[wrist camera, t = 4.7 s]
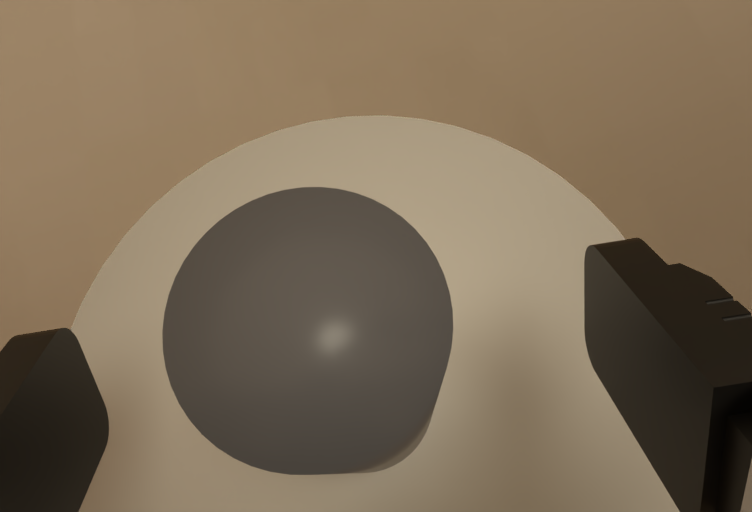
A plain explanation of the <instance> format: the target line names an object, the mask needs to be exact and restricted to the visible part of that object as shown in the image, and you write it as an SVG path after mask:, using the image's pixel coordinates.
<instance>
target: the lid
mask: <svg viewBox="0 0 752 512" xmlns="http://www.w3.org/2000/svg"><path fill="white" fill-rule="evenodd" d="M620 240H625V238H624V237H623V236H622V234H621V233H620V232H619V230H618V229H617V228H616V227H615V226H614V225H613V224H612V223H611V222H610V220H609V219H608V218H607V217H606V216H605V215H604V214H603V213H602V212H601V211H600V210H599V209H598V208H597V207H596V206H595V205H594V204H593V203H592V202H591V201H590V200H589V199H588V198H587V197H586V196H584V195H583V194H582V193H581V192H580V191H578V190H577V189H576V188H575V187H573V186H572V185H571V184H570V183H568V182H567V181H566V180H565V179H564V178H562V177H561V176H560V175H558V174H557V173H555V172H554V171H552V170H551V169H549V168H547V167H546V166H544V165H543V164H541V163H540V162H538V161H536V160H535V159H533V158H532V157H530V156H528V155H527V154H525V153H523V152H521V151H518V150H516V149H514V148H512V147H510V146H508V145H506V144H504V143H502V142H500V141H498V140H495V139H493V138H490V137H488V136H485V135H482V134H479V133H476V132H473V131H470V130H467V129H464V128H461V127H458V126H453V125H449V124H444V123H439V122H435V121H430V120H425V119H419V118H408V117H397V116H387V115H380V116H347V117H340V118H333V119H326V120H319V121H312V122H308V123H304V124H300V125H297V126H293V127H289V128H285V129H281V130H277V131H275V132H272V133H270V134H267V135H264V136H262V137H259V138H257V139H254V140H252V141H249V142H246V143H244V144H242V145H240V146H238V147H236V148H234V149H232V150H230V151H228V152H226V153H225V154H223V155H221V156H219V157H217V158H215V159H213V160H211V161H210V162H208V163H207V164H205V165H204V166H202V167H201V168H199V169H198V170H196V171H195V172H193V173H192V174H190V175H189V176H188V177H186V178H185V179H183V180H182V181H180V182H179V183H178V184H177V185H175V186H174V187H173V188H172V189H171V190H170V191H168V192H167V193H166V194H165V195H164V196H163V197H161V198H160V199H159V200H158V201H157V202H156V203H155V204H153V205H152V206H151V207H150V208H149V209H148V210H147V211H146V212H145V214H144V215H143V216H142V217H141V218H140V219H139V220H138V221H137V222H136V223H135V224H134V226H133V227H132V228H131V229H130V230H129V231H128V232H127V233H126V234H125V235H124V237H123V238H122V239H121V241H120V242H119V244H118V245H117V246H116V248H115V249H114V250H113V252H112V253H111V255H110V256H109V257H108V259H107V260H106V262H105V263H104V264H103V266H102V267H101V269H100V271H99V272H98V274H97V276H96V278H95V279H94V281H93V283H92V285H91V287H90V288H89V290H88V292H87V294H86V296H85V297H84V299H83V301H82V303H81V305H80V308H79V310H78V312H77V315H76V317H75V320H74V322H73V325H72V327H71V329H70V330H71V331H72V332H73V333H74V334H75V336H76V337H77V339H78V341H79V343H80V346H81V348H82V351H83V353H84V355H85V358H86V360H87V363H88V365H89V367H90V370H91V372H92V375H93V377H94V379H95V382H96V384H97V387H98V389H99V391H100V394H101V396H102V399H103V401H104V403H105V406H106V409H107V413H108V419H109V436H108V442H107V446H106V448H105V451H104V453H103V455H102V458H101V460H100V463H99V465H98V467H97V470H96V472H95V474H94V477H93V479H92V481H91V484H90V486H89V488H88V491H87V493H86V495H85V498H84V500H83V502H82V505H81V507H80V509H79V512H680V511H679V510H678V508H677V506H676V505H675V503H674V501H673V500H672V498H671V496H670V495H669V493H668V491H667V490H666V488H665V486H664V485H663V483H662V481H661V480H660V478H659V477H658V475H657V473H656V472H655V470H654V468H653V467H652V465H651V463H650V462H649V460H648V458H647V457H646V455H645V453H644V452H643V450H642V448H641V447H640V445H639V443H638V442H637V440H636V439H635V437H634V435H633V434H632V432H631V430H630V429H629V427H628V425H627V424H626V422H625V420H624V419H623V417H622V415H621V414H620V412H619V410H618V409H617V407H616V405H615V404H614V402H613V401H612V399H611V397H610V396H609V394H608V392H607V391H606V389H605V387H604V386H603V384H602V382H601V381H600V379H599V377H598V376H597V374H596V372H595V371H594V369H593V366H592V364H591V361H590V359H589V355H588V351H587V347H586V341H585V332H584V258H585V252H586V249H587V247H588V246H590V245H594V244H601V243H607V242H613V241H620Z"/></svg>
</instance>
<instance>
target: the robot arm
mask: <svg viewBox="0 0 752 512" xmlns="http://www.w3.org/2000/svg"><path fill="white" fill-rule="evenodd" d="M584 332H585V341H586V347H587V351H588V355H589V359H590V361H591V364H592V366H593V369H594V371H595V372H596V374H597V376H598V377H599V379H600V381H601V382H602V384H603V386H604V387H605V389H606V391H607V392H608V394H609V396H610V397H611V399H612V401H613V402H614V404H615V405H616V407H617V409H618V410H619V412H620V414H621V415H622V417H623V419H624V420H625V422H626V424H627V425H628V427H629V429H630V430H631V432H632V434H633V435H634V437H635V439H636V440H637V442H638V443H639V445H640V447H641V448H642V450H643V452H644V453H645V455H646V457H647V458H648V460H649V462H650V463H651V465H652V467H653V468H654V470H655V472H656V473H657V475H658V477H659V478H660V480H661V481H662V483H663V485H664V486H665V488H666V490H667V491H668V493H669V495H670V496H671V498H672V500H673V501H674V503H675V505H676V506H677V508H678V510H679V511H680V512H752V317H751V313H750V312H749V311H748V310H747V309H746V308H745V307H744V306H743V305H741V304H740V303H739V302H738V301H734V300H733V296H731V295H730V294H729V293H728V292H727V291H726V290H725V289H724V288H723V287H722V286H720V285H719V284H718V283H717V282H716V281H715V280H714V279H713V278H712V277H709V276H707V275H705V274H703V273H700V272H698V271H696V270H694V269H692V268H689V267H687V266H685V265H683V264H680V263H678V264H672V265H667V264H666V263H665V262H664V261H663V260H662V259H661V258H660V257H659V256H658V255H657V254H656V253H655V252H654V251H653V250H652V249H651V248H650V247H649V246H648V245H647V244H646V243H645V242H644V241H643V240H642V239H640V238H632V239H626V240H620V241H613V242H607V243H601V244H594V245H590V246H588V247H587V249H586V252H585V258H584ZM108 436H109V419H108V413H107V409H106V406H105V403H104V401H103V399H102V396H101V394H100V391H99V389H98V387H97V384H96V382H95V379H94V377H93V375H92V372H91V370H90V367H89V365H88V363H87V360H86V358H85V355H84V353H83V351H82V348H81V346H80V343H79V341H78V339H77V337H76V336H75V334H74V333H73V332H72V331H71V330H69V329H67V328H60V329H54V330H47V331H41V332H35V333H29V334H22V335H17V336H14V337H13V338H11V339H10V340H9V341H8V343H7V344H6V345H5V347H4V348H3V349H2V351H1V352H0V512H79V509H80V507H81V505H82V502H83V500H84V498H85V495H86V493H87V491H88V488H89V486H90V484H91V481H92V479H93V477H94V474H95V472H96V470H97V467H98V465H99V463H100V460H101V458H102V455H103V453H104V451H105V448H106V446H107V442H108Z"/></svg>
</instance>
